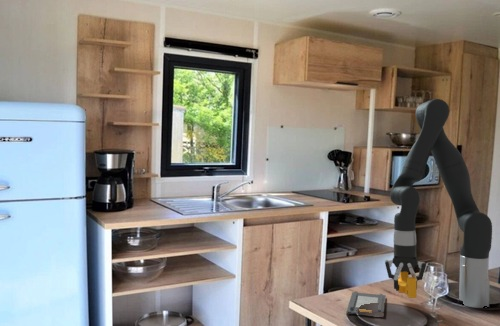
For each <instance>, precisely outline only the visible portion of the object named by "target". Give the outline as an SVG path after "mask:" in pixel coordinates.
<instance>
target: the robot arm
mask: <svg viewBox="0 0 500 326" xmlns="http://www.w3.org/2000/svg"><path fill="white" fill-rule="evenodd" d="M449 116H450V106H449V105H448V103H447V102H446V101H445V100H444V99H440V98H434V99H430V100H428V101H425V102H423V103H421V104H419V105H418V106H417V107H416V109H415V119H416V123H417V125H418V126H419V128H420V133H419V134H418V136H417V138H416V140H415V142H414V143H413V145H412V147H411V149H409V152H408V154H407V155H406V159H405V161H404V164H403V167H402V171H401V172H400V174H399V176H398V177H397V178H396V180H395V181H394V184H393V185H392V187H391V189H390V194H389V195H390V201H391V202H392V203H393V205H394V204H395V205H396V206H401V207H400V212H396V213H395V215H394V217H393V219H394V220H393V221H394V222H393V224H394V225H393V226H394V228H393V229H394V231H393V258H392V259H390V260H387V259H386V260H385V261H384V264H385V265H384V266H385V269H386V272H387V276H388V278H389V279H392V280H393V288H394V290H395V291H396V292H398V279H399V277H400V276H399V274H400V272H405V271H406V272H408V273H410V275H411V277H415V278H416V287H417V288H418V281H422V280H423V278H424V275H425V271H426V265H427V264H426V262H425V261H418V258H417V233H416V217H417V214H418V210H419V206H420V198H421V197H420V192H419V191H418V190H417V188H416V187H415V186H414V187H413V185H414V184H416V183H418V182H420V181H421V179H422V178H423V176H424V175H423V174H424V172H425V169H426V166H427V164H428V160H429V158H430V155H431V154H432V157H433V158H434V161H435V165H436V167H437V168H436V169H437V171H438V173H439V175H440V178H441V180H442V183H443V185H444V187H445V189H446V191H447V194H448V195H449V198H450V200H451V203H452V205H453V209H454V213H455V216H456V221H457V223H458V227H459V229H460V230H461V232H463V243H462V245H461V247H460V252H459V287H458V288H459V289H458V290H459V291H458V294H459V295H458V298H459V299H460V300H462V301H463V304H464V305H463V306H464V307H468V308H476V309H484V308H483V307H484V306H487V307H489V308H490V284H491V283H490V279H489V260H490V259H489V258H490V251H491V249H492V242H493V224H492V223H493V222H492V220H491V218H490V216H488V215H487V214H486V213H484V212H482V211H480V209H479V208H478V206H477V204H476V201H475V199H474V197H473V194H472V187H471V186H472V184H471V178H470V177H471V176H470V173H469V169H468V167H467V165H466V162H465V159H464V157H463V154H462V153H461V152H460V150H459V149H458V148H457V147H456V146H455V145H454V143H452V142H451V140H450V139H449V138H448V136H447V134H446V132H445V130H444V126H445V124H446V122H447V120H448V118H449ZM392 265H394V267H395V268H396V269H395V272H394V274H393V273H392V269H391V267H392ZM417 265H418V268H419V272H418V275H416V273H415V271H414V270H415V268H416V267H417ZM459 299H458V300H459ZM487 307H486V308H487Z"/></svg>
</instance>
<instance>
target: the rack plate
mask: <svg viewBox="0 0 500 326" xmlns="http://www.w3.org/2000/svg"><path fill="white" fill-rule="evenodd" d="M370 303H379V305H378V312H381V308H382V303H385V304H386V295H385V294H383V293H379V294H376V293H375V294H374V293H365V292H358V291H356V290H354V291H352V292H351V296H350V299H349V302H348V305H347V309H346V314H347V313H348V312H351V313H356V310H357V309H358V308H359V307H360V306H361V305H364V304H370ZM359 311H360V312H369V313H372V310H366V309H359Z"/></svg>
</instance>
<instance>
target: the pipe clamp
mask: <svg viewBox="0 0 500 326" xmlns="http://www.w3.org/2000/svg"><path fill="white" fill-rule="evenodd" d="M398 277H399V278H398V291H397V292H398V294H405V295H406V296H407V297H408V299H417V298H418V297H417V296H418V293H417V292H418V291H417V290H418V286H417V287H416V278H415V277H412V276H411V277H409V272H406V271H405V272H400V274H399V276H398Z"/></svg>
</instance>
